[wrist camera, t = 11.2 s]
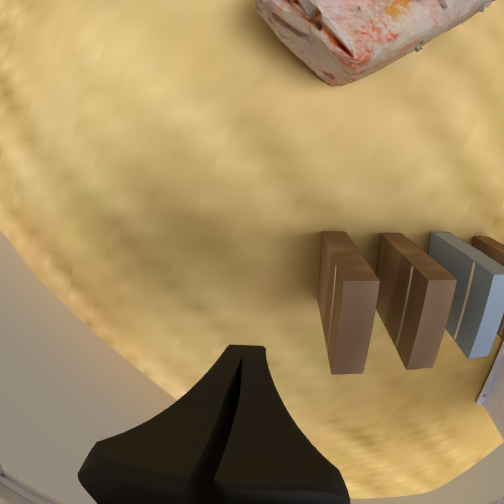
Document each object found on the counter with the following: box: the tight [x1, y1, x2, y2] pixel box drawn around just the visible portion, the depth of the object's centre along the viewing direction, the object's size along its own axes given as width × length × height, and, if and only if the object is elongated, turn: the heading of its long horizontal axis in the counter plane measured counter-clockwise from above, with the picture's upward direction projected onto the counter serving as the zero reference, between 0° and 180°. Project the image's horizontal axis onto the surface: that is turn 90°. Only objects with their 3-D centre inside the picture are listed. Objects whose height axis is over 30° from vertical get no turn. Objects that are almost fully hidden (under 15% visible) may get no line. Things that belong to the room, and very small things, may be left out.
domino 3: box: [472, 236, 504, 341], centre depth 16 cm, size 2×5×8 cm, turn 1°
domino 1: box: [318, 232, 380, 374], centre depth 17 cm, size 2×5×8 cm, turn 1°
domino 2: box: [376, 233, 457, 370], centre depth 17 cm, size 2×5×8 cm, turn 1°
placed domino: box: [428, 232, 504, 359], centre depth 16 cm, size 2×5×8 cm, turn 1°
